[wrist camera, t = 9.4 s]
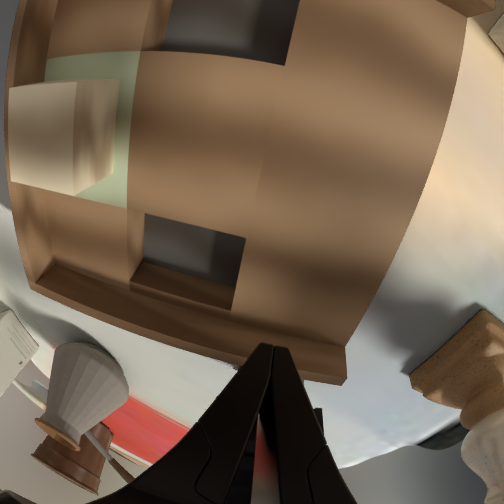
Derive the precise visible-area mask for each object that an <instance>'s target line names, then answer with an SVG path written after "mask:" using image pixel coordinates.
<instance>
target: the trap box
mask: <svg viewBox="0 0 504 504" xmlns="http://www.w3.org/2000/svg"><path fill="white" fill-rule="evenodd" d="M492 10H495V0H20V1H19V4H18V8H17V12H16V17H15V21H14V26H13V31H12V37H11V43H10V49H9V56H8V65H7V74H6V86H5V106H4V132H5V133H4V135H5V136H4V137H5V157H6V169H7V179H8V188H9V195H10V202H11V209H12V215H13V220H14V225H15V231H16V235H17V240H18V244H19V249H20V253H21V257H22V261H23V265H24V268H25V272H26V275H27V279H28V282H29V286H30V289H32V290H34V291H36V292H38V293H40V294H42V295H44V296H46V297H48V298H50V299H52V300H55V301H57V302H59V303H61V304H63V305H66V306H68V307H70V308H72V309H75V310H77V311H79V312H82V313H84V314H86V315H89V316H91V317H93V318H96V319H98V320H101V321H103V322H106V323H108V324H111V325H113V326H116V327H119V328H121V329H124V330H127V331H129V332H132V333H135V334H138V335H140V336H143V337H146V338H149V339H152V340H155V341H158V342H161V343H164V344H167V345H170V346H173V347H176V348H179V349H183V350H186V351H189V352H193V353H196V354H199V355H203V356H206V357H210V358H213V359H217V360H221V361H225V362H228V363H232V364H236V365H240V366H242V365H243V364H244V363H245V361H246V360H247V359H248V357H249V356H250V355H251V353H252V352H253V351H254V349H255V348H256V347H257V345H258V344H259V343H260V342H264V343H269V344H273V345H274V346H275V345H279V346H284V347H287V348H289V350H290V353H291V355H292V358H293V360H294V363H295V365H296V368H297V370H298V373H299V375H300V378H301V379H304V380H309V381H315V382H321V383H327V384H333V385H340V386H342V384H343V383H344V382H345V380H346V379H347V368H346V354H345V346H346V344H347V343H348V341H349V339H350V338H351V336H352V334H353V333H354V331H355V329H356V328H357V326H358V324H359V323H360V321H361V319H362V317H363V316H364V314H365V312H366V310H367V308H368V307H369V305H370V303H371V301H372V299H373V297H374V296H375V294H376V292H377V290H378V288H379V286H380V284H381V282H382V280H383V278H384V276H385V274H386V272H387V270H388V268H389V266H390V264H391V262H392V260H393V258H394V256H395V254H396V252H397V250H398V248H399V245H400V243H401V241H402V239H403V237H404V234H405V232H406V230H407V228H408V225H409V223H410V221H411V218H412V216H413V214H414V211H415V209H416V206H417V204H418V201H419V199H420V196H421V194H422V191H423V189H424V186H425V183H426V181H427V178H428V175H429V173H430V170H431V167H432V164H433V161H434V158H435V155H436V152H437V149H438V146H439V143H440V140H441V137H442V133H443V130H444V127H445V123H446V120H447V116H448V113H449V109H450V105H451V101H452V97H453V93H454V89H455V85H456V81H457V76H458V71H459V66H460V61H461V56H462V50H463V45H464V38H465V31H466V24H467V18H468V17H472V16H475V15H478V14H481V13H485V12H488V11H492ZM75 79H121V81H120V88H119V96H118V105H117V115H116V126H115V139H114V157H113V173H112V174H111V175H109V176H107V177H105V178H104V179H102V180H100V181H98V182H97V183H95V184H93V185H91V186H90V187H88V188H86V189H85V190H83V191H81V192H80V193H78V194H77V195H75V196H71V195H67V194H63V193H59V192H55V191H50V190H46V189H42V188H38V187H34V186H29V185H25V184H21V183H17V182H12V181H11V176H10V164H9V147H8V102H9V88H12V87H17V86H23V85H28V84H35V83H41V82H48V81H58V80H75Z"/></svg>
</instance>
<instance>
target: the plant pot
mask: <svg viewBox="0 0 504 504" xmlns="http://www.w3.org/2000/svg"><path fill="white" fill-rule="evenodd" d="M89 430H90V431H91V432H92V433H93V435H94V436H95V437H96V439H97V440H98V441H99V442H100V443H101V445H102V446H103V447H104V448H105V450H106V451H107V452H108V450H109V447H110V444H111V441H112V439H113V434H112V433H111V431H110V430H109V429H108V428H107V427H106V426H105V425H104V424H102V423H101V422H99V423H98V424H96V425H95V426H93V427H92V428H91V429H89ZM79 447H80V448H81V449H80V451H75V450H73V449H71V448H69V447H67V446H65V445H63V444H62V443H60V442H58V441H57V440H55V439H54V438H52V437H51V436H50V435H48V436H47V437H46V439H45V440H44V441H43V443H42V444H40V445H39V446H38V448H37V449H36V451H35V452H34V454H31V456H32V457H34V458H35V459H36V460H37V461H39V462H40V463H42V464H43V465H45V466H46V467H48V468H49V469H51V470H52V471H54V472H55V473H57V474H59V475H60V476H62V477H64V478H65V479H67V480H69V481H70V482H72V483H74V484H76V485H78V486H79V487H81V488H83V489H85V490H87V491H89V492H91V493H94V494H95V495H98V493H97V490H98V487H99V483H100V475H101V472H102V468H103V465H104V462H105V459H106V458H105V457H104V456H103V454H102V453H101V452H100V451H99V450H98V449H97V448H96V447H95V446H94V444H93V443H92V442H91V441H90V440H89V439H88V438H87V436H86V435H85V434H82V435H81V437H80V442H79Z"/></svg>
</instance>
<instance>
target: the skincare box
mask: <svg viewBox="0 0 504 504" xmlns="http://www.w3.org/2000/svg"><path fill="white" fill-rule="evenodd" d="M38 349H39V346H38V345H37V343H36V342H35V341H34V340H33V339H32V337H31V336H30V335H29V334H28V332H27V331H26V330H25V328H24V327H23V326H22V325H21V323H20V322H19V321H18V319H17V318H16V316H15V314H14V313H13V312H12V310H8V311H4V312H1V313H0V397H1V396H2V395H3V393H4V392H5V391H6V389H7V388H8V386H9V385H10V384H11V383H12V382H13V380H14V379H15V378H16V376H17V375H18V374H19V372H20V371H21V370H22V369H23V367H24V366H25V365H26V364H27V362H28V361H29V360H30V359H31V358H32V356H33V355H34V354H35V353H36V351H37V350H38Z"/></svg>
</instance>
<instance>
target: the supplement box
mask: <svg viewBox="0 0 504 504" xmlns="http://www.w3.org/2000/svg"><path fill="white" fill-rule="evenodd" d="M488 34H489V36H490V37H491V38H492V40H493V41H494V42H495V43H496V44H497V46H498V47H499V48H500V49H501V51H502V52H503V53H504V13H503V15H502V16H501V17H500V19H499V20H498V21H497V22H496V24H495V25H494V26H493V27H492V29H491V30H490V32H489V33H488Z"/></svg>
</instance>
